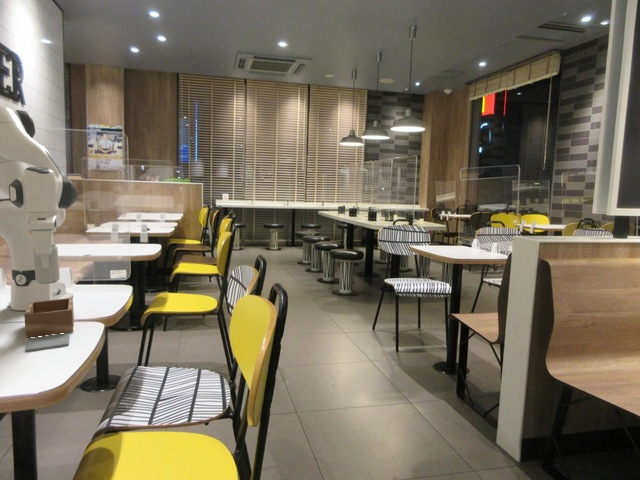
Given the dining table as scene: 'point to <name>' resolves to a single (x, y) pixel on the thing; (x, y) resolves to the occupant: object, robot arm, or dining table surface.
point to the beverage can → (49, 273)
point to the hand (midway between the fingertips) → (46, 265)
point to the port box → (49, 317)
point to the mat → (48, 342)
